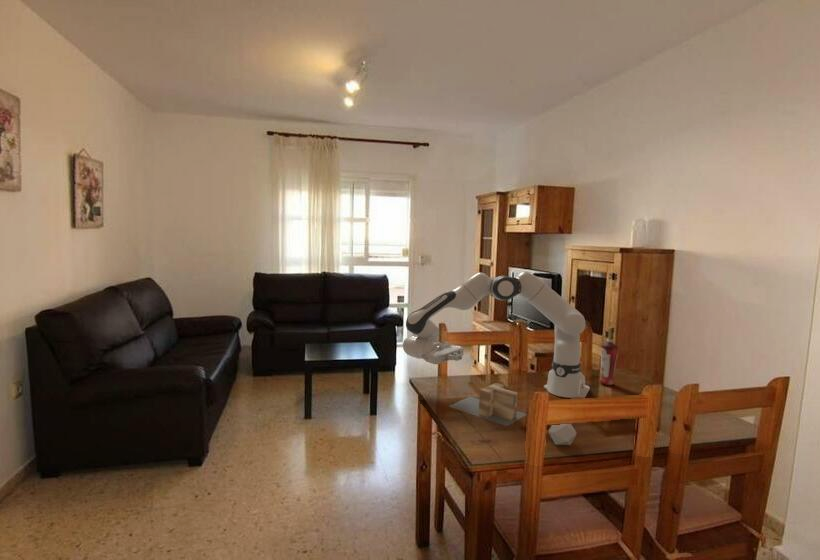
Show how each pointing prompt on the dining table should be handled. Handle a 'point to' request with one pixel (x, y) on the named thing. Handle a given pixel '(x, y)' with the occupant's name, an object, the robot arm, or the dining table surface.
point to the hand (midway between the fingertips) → (460, 358)
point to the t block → (498, 402)
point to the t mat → (472, 407)
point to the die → (562, 434)
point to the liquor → (608, 359)
